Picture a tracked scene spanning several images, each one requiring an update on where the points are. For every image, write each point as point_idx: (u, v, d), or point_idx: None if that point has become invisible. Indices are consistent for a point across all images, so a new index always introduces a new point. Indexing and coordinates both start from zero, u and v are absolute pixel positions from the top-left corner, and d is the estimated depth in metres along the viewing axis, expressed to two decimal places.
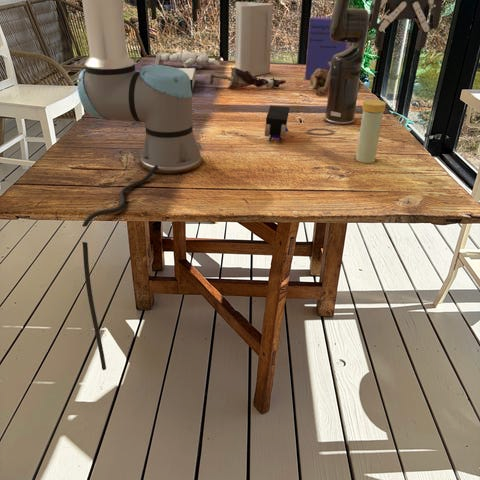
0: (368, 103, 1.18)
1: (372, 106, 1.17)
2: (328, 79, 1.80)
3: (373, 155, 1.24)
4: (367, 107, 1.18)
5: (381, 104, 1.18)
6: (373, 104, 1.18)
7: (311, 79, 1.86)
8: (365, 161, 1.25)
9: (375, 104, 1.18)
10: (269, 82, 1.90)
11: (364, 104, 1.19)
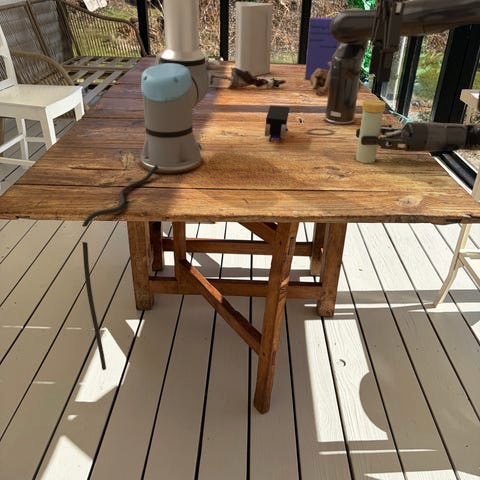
0: (368, 103, 1.18)
1: (372, 106, 1.17)
2: (328, 79, 1.80)
3: (373, 155, 1.24)
4: (367, 107, 1.18)
5: (381, 104, 1.18)
6: (373, 104, 1.18)
7: (311, 79, 1.86)
8: (365, 161, 1.25)
9: (375, 104, 1.18)
10: (269, 82, 1.90)
11: (364, 104, 1.19)
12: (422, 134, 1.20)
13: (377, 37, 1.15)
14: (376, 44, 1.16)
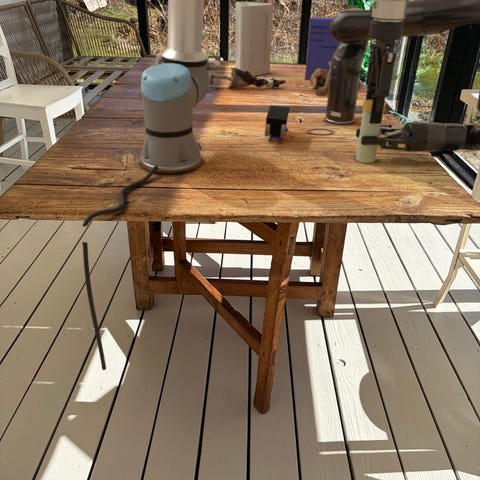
0: (368, 103, 1.18)
1: None
2: (328, 79, 1.80)
3: (373, 155, 1.24)
4: (367, 107, 1.18)
5: None
6: None
7: (311, 79, 1.86)
8: (365, 161, 1.25)
9: None
10: (269, 82, 1.90)
11: (364, 104, 1.19)
12: (422, 134, 1.20)
13: (371, 81, 1.19)
14: (371, 88, 1.21)
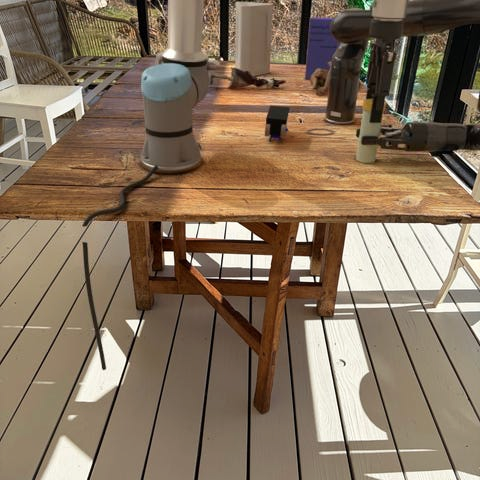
0: None
1: None
2: (328, 79, 1.80)
3: (373, 155, 1.24)
4: (385, 105, 1.19)
5: None
6: None
7: (311, 79, 1.86)
8: (365, 161, 1.25)
9: None
10: (269, 82, 1.90)
11: (384, 105, 1.18)
12: (422, 134, 1.20)
13: (371, 80, 1.19)
14: (371, 87, 1.21)
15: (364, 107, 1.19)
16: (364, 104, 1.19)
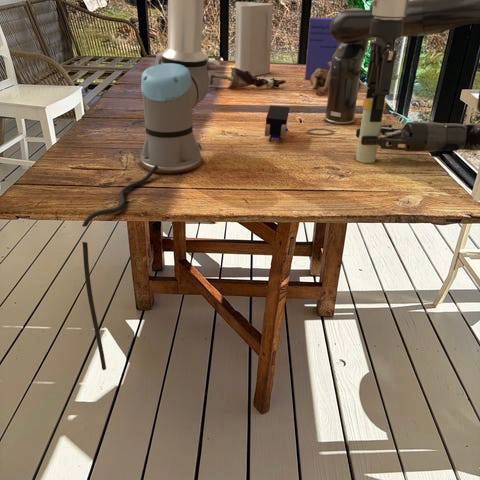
0: (372, 98, 1.21)
1: None
2: (328, 79, 1.80)
3: (373, 155, 1.24)
4: None
5: (366, 101, 1.19)
6: (368, 99, 1.20)
7: (311, 79, 1.86)
8: (365, 161, 1.25)
9: (367, 99, 1.20)
10: (269, 82, 1.90)
11: None
12: (422, 134, 1.20)
13: (372, 79, 1.19)
14: (371, 86, 1.21)
15: (384, 107, 1.18)
16: (384, 105, 1.18)
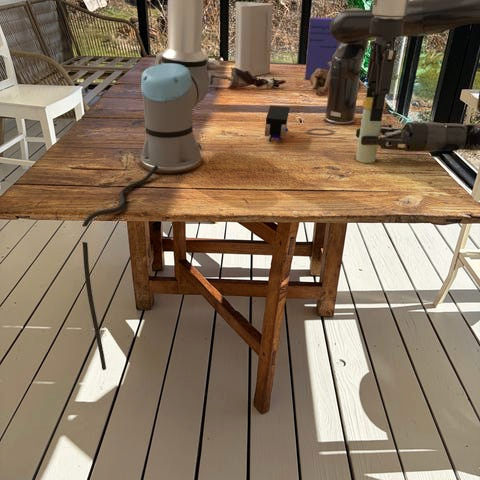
0: (369, 101, 1.18)
1: None
2: (328, 79, 1.80)
3: (373, 155, 1.24)
4: (368, 105, 1.18)
5: None
6: None
7: (311, 79, 1.86)
8: (365, 161, 1.25)
9: None
10: (269, 82, 1.90)
11: (365, 102, 1.18)
12: (422, 134, 1.20)
13: (372, 78, 1.19)
14: (371, 85, 1.21)
15: None
16: None
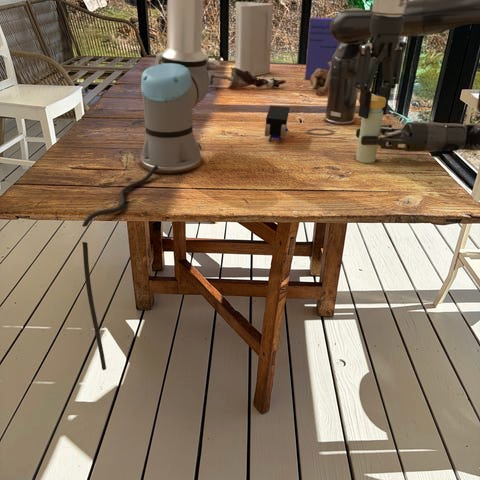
0: (383, 99, 1.18)
1: None
2: (328, 79, 1.80)
3: (373, 155, 1.24)
4: (385, 102, 1.19)
5: (375, 96, 1.21)
6: (381, 97, 1.19)
7: (311, 79, 1.86)
8: (365, 161, 1.25)
9: (380, 97, 1.20)
10: (269, 82, 1.90)
11: (385, 101, 1.17)
12: (422, 134, 1.20)
13: None
14: None
15: None
16: None
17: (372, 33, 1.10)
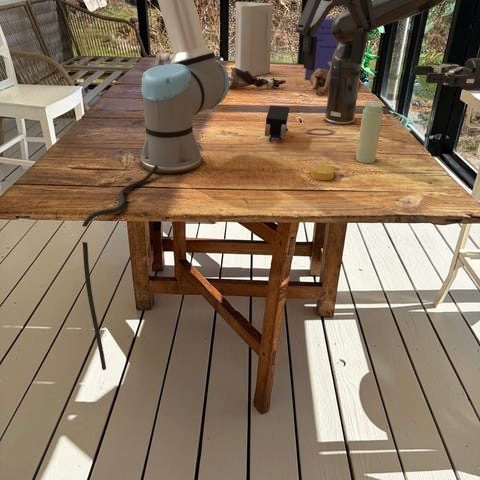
0: (331, 170, 1.16)
1: None
2: (328, 79, 1.80)
3: (373, 155, 1.24)
4: None
5: (324, 165, 1.18)
6: (330, 168, 1.17)
7: (311, 79, 1.86)
8: (365, 161, 1.25)
9: (329, 167, 1.17)
10: (269, 82, 1.90)
11: (332, 173, 1.15)
12: None
13: None
14: None
15: (312, 175, 1.16)
16: (312, 172, 1.16)
17: None
